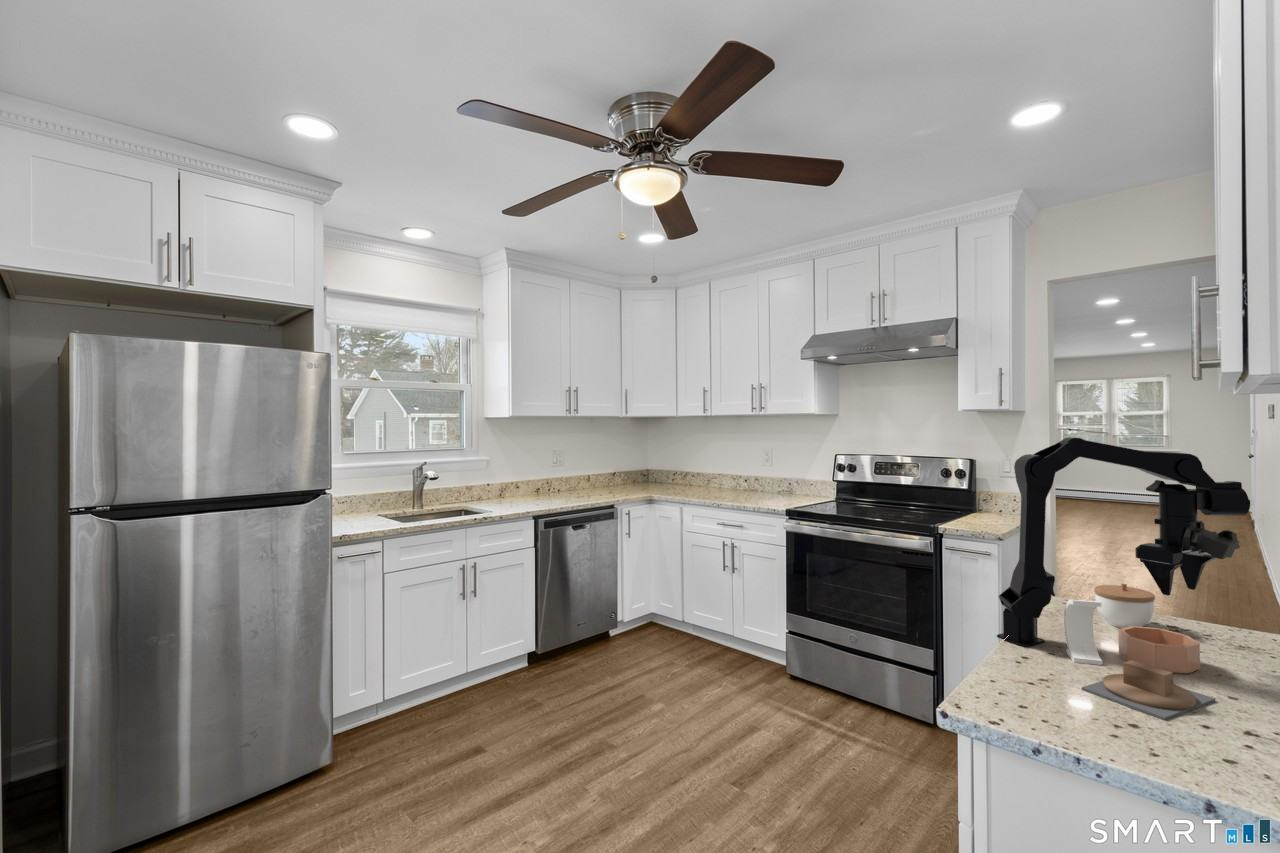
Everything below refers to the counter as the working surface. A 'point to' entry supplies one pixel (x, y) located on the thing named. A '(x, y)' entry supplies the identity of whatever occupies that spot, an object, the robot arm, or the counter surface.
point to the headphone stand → (1081, 631)
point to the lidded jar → (1124, 605)
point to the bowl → (1159, 648)
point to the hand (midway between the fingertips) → (1179, 592)
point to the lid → (1149, 687)
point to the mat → (1156, 712)
